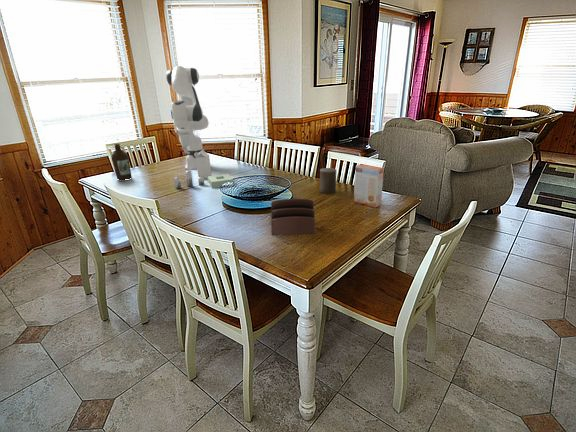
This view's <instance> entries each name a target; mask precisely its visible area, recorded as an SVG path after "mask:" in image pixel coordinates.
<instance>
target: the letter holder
mask: <svg viewBox="0 0 576 432" xmlns="http://www.w3.org/2000/svg"><path fill="white" fill-rule="evenodd" d="M270 203H271V204H270V208H271V209H270V210H271V212H270V213H271V214H270V215H271V216H270V217H271V219H270V220H271V221H270V225H271V235H272V236H281V235H282V236H283V235H287V236H288V235H315V234H316V218H315V210H314V207H315V206H314V205H315V204H314V203H315V202H314V200H313V199H309V198H287V199H286V198H283V199H276V200H272V201H271V202H270Z"/></svg>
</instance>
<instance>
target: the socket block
mask: <svg viewBox="0 0 576 432" xmlns="http://www.w3.org/2000/svg"><path fill="white" fill-rule="evenodd" d="M207 181H208V183H209V186H210V187H211V188H212V189H215V188H221V187H220V186H221V185H222V184H224V183H227V182H233V183H234V178H233V177H232V176H230V174H229V173H223V174H217V175H211V176H208V178H207Z"/></svg>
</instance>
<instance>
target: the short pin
mask: <svg viewBox="0 0 576 432" xmlns="http://www.w3.org/2000/svg"><path fill="white" fill-rule="evenodd" d="M197 181H198V186H199V187H200V186H201V187H202V186H205V178H204V177H197Z"/></svg>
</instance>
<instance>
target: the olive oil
mask: <svg viewBox="0 0 576 432" xmlns="http://www.w3.org/2000/svg"><path fill="white" fill-rule="evenodd" d="M111 162H112V166H113V169H114V172H115V176H116V179H119V180H125V179H130V178H132V179H133V175H132V170H131V163H130V158H129V155H128V153H127V152H126V151H124V150H122V147H121V145H120V142H119V143H114V152H112V154H111Z"/></svg>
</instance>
